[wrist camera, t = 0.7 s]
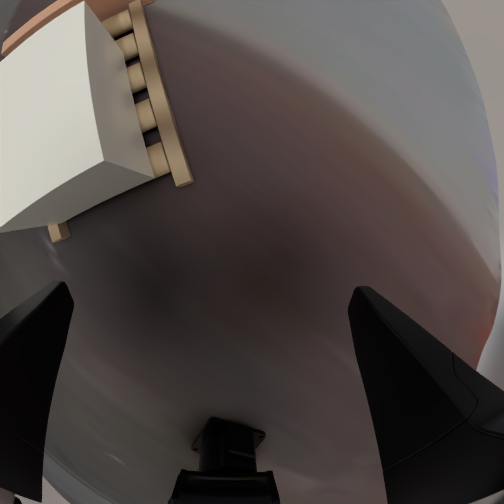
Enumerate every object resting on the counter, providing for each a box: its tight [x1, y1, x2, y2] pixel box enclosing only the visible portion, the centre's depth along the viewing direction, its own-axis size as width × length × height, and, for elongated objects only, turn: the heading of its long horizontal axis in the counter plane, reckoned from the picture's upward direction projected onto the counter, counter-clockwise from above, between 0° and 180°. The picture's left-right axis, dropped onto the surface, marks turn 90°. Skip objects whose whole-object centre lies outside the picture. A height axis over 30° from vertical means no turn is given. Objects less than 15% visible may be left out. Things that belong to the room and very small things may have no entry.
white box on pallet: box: [0, 1, 155, 233], centre depth 13 cm, size 12×9×8 cm
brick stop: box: [1, 0, 154, 57], centre depth 14 cm, size 2×16×6 cm, turn 108°
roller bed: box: [48, 0, 194, 243], centre depth 17 cm, size 21×14×2 cm, turn 18°
